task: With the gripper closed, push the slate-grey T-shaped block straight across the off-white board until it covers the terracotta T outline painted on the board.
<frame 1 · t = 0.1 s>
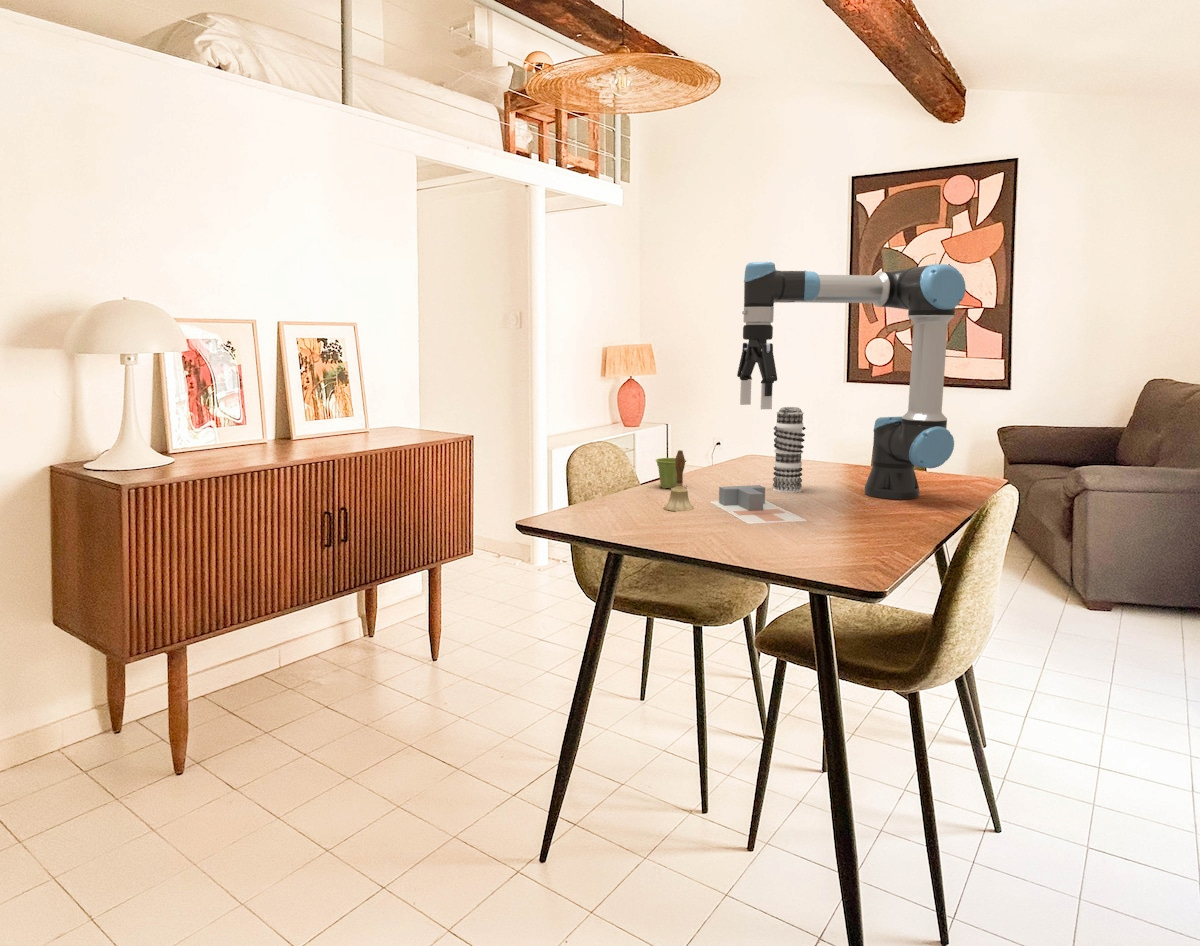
hand: (755, 407, 217), 28 cm above the table, fingers open, 13 cm apart
decorative candle: (787, 490, 252), on the table
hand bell: (678, 509, 226), on the table
plant pot: (670, 488, 256), on the table
T block: (747, 506, 228), resting on target board
target board: (756, 511, 222), on the table
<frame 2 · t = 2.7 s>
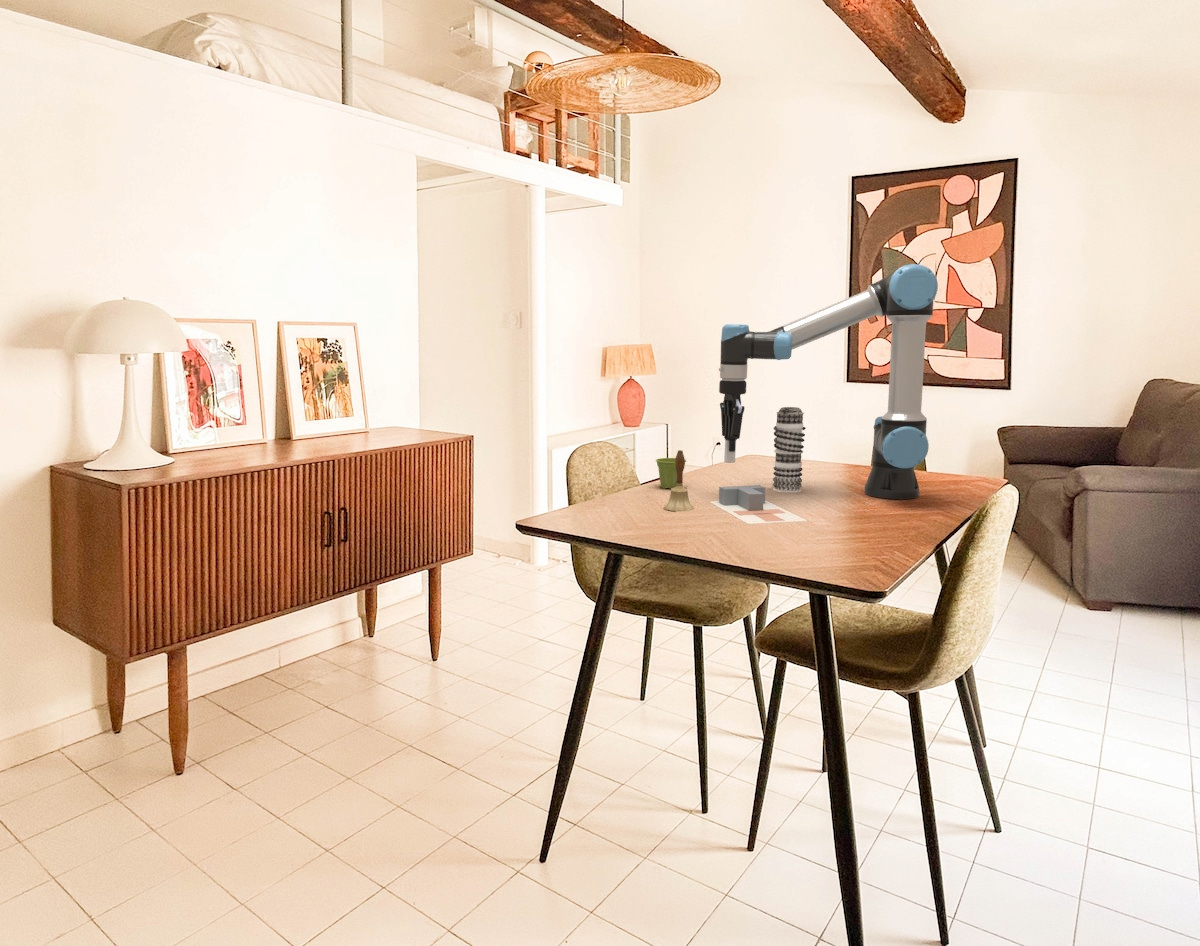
hand: (729, 462, 239), 10 cm above the table, fingers closed
nothing on the table moved.
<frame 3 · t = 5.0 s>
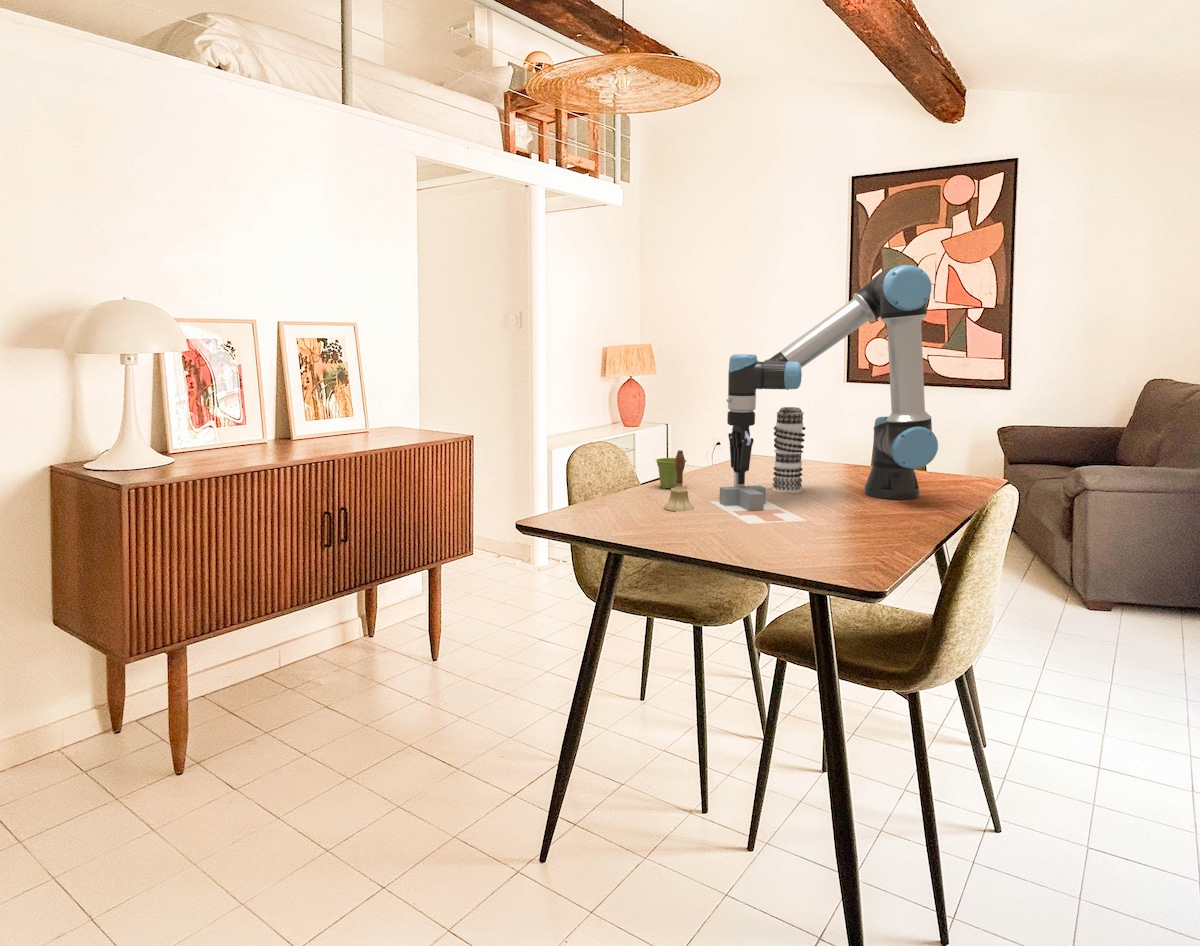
hand: (739, 494, 234), 2 cm above the table, fingers closed
T block: (747, 506, 227), resting on target board, touching gripper
everything else where it was.
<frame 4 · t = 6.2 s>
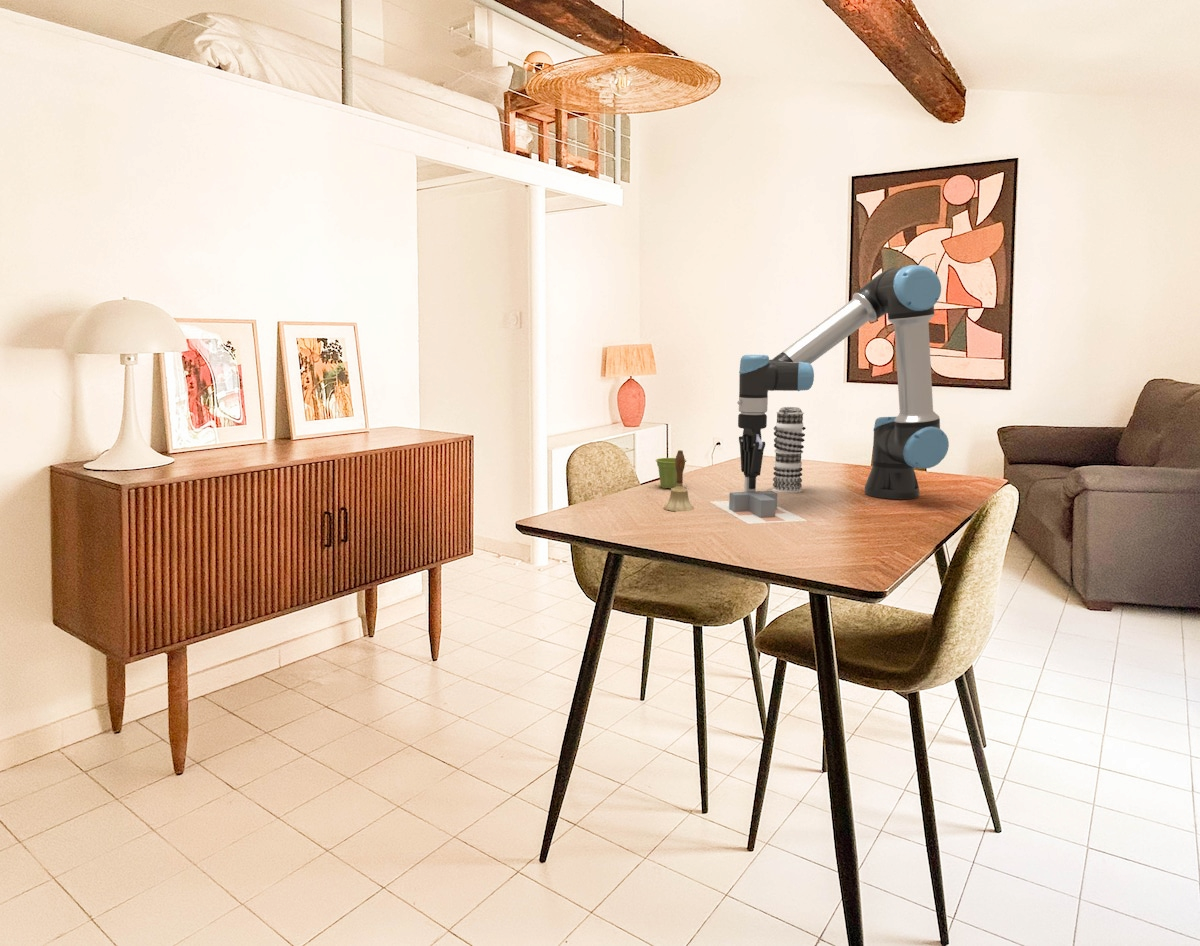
hand: (749, 499, 226), 2 cm above the table, fingers closed
T block: (758, 512, 220), resting on target board, touching gripper
everything else where it was.
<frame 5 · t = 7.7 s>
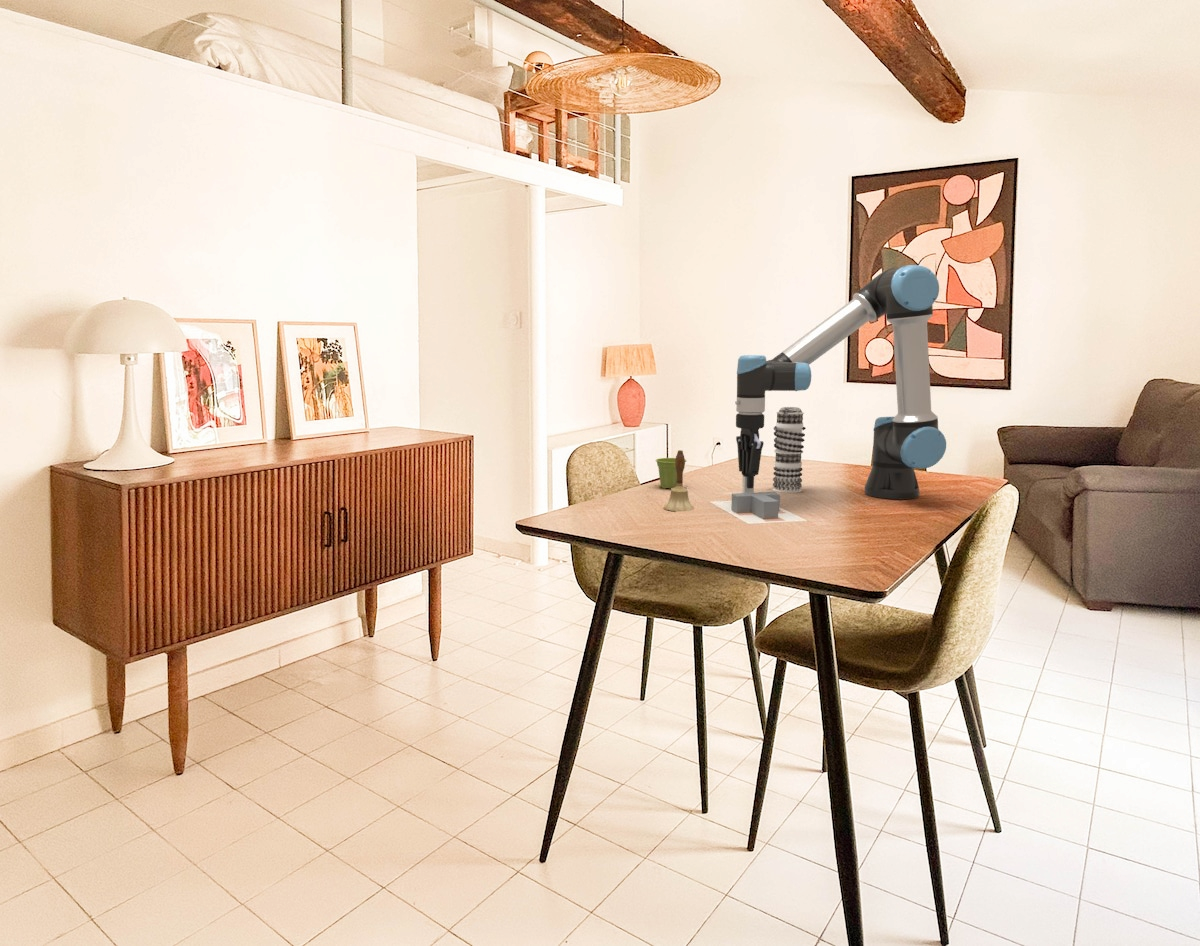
hand: (747, 499, 228), 2 cm above the table, fingers closed
T block: (761, 513, 218), resting on target board
everything else where it was.
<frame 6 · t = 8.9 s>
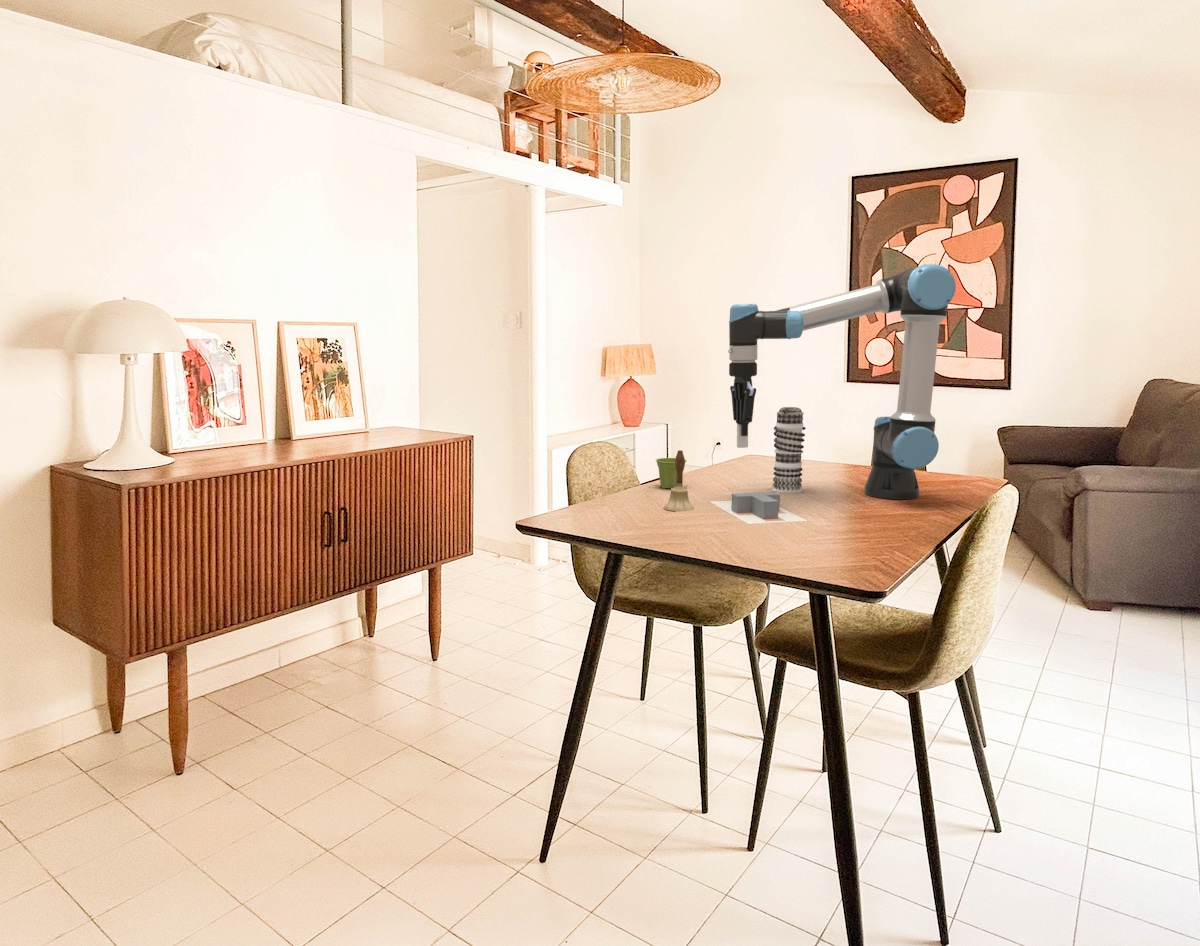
hand: (742, 447, 231), 16 cm above the table, fingers closed
nothing on the table moved.
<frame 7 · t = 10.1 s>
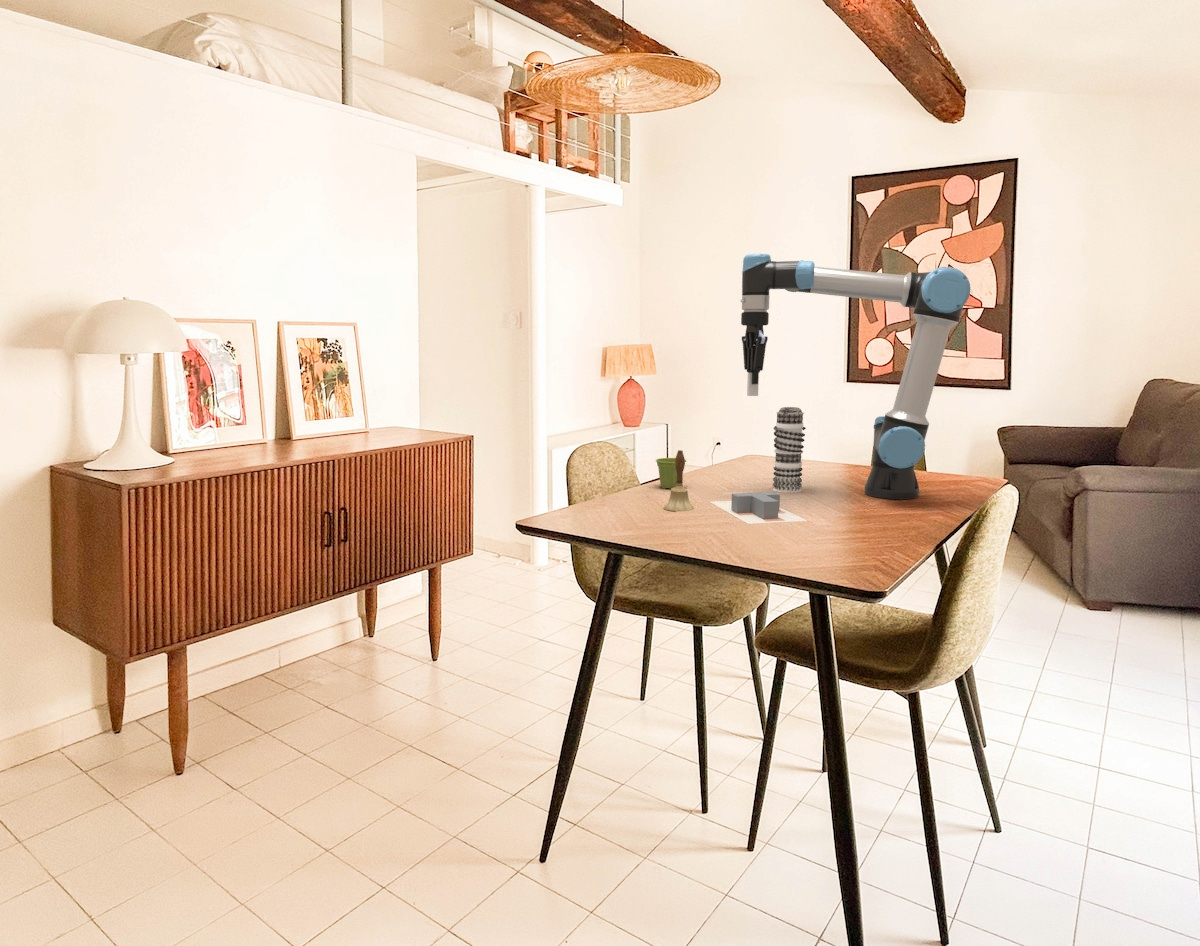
hand: (752, 395, 237), 29 cm above the table, fingers closed
nothing on the table moved.
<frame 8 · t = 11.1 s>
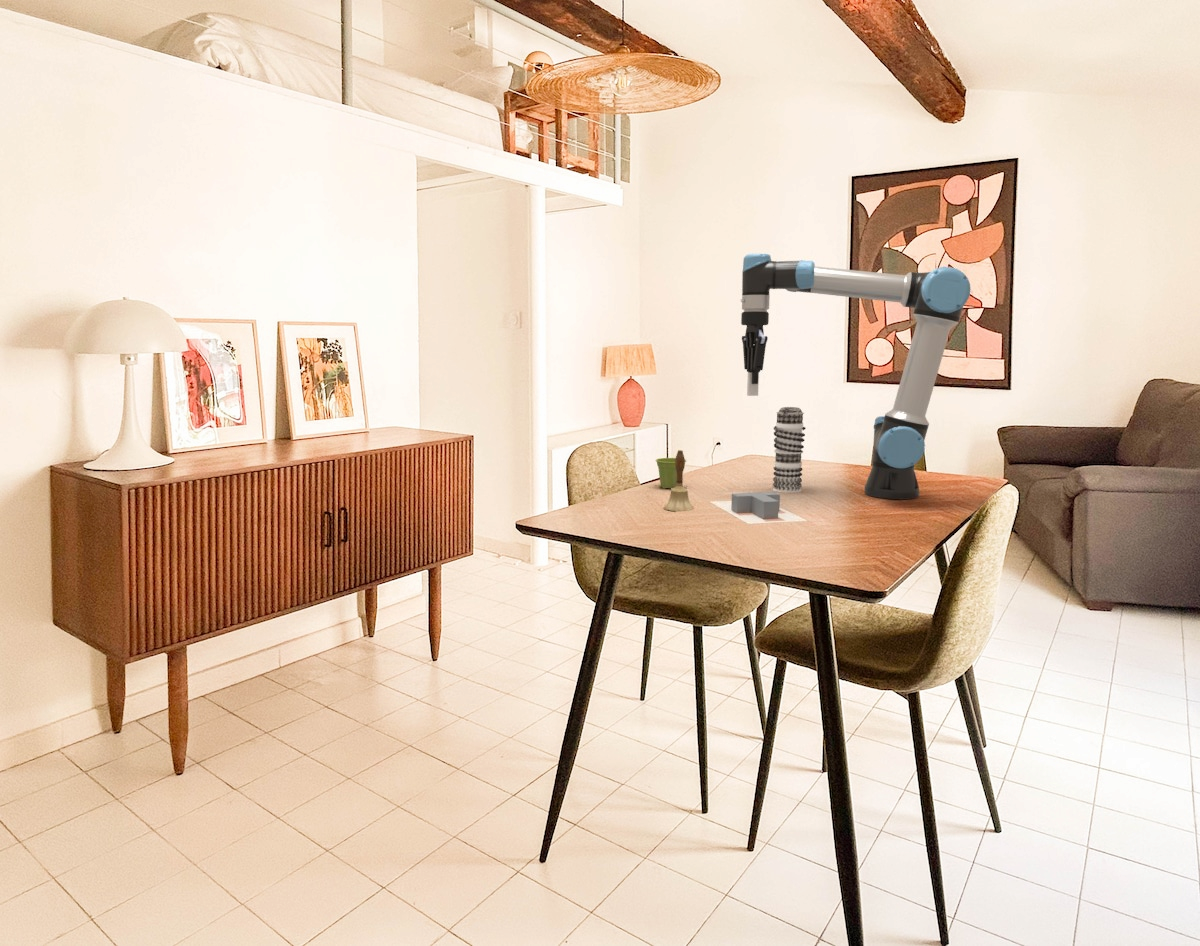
hand: (752, 395, 237), 29 cm above the table, fingers closed
nothing on the table moved.
at the end: T block 1.9 cm from the target spot on the target board, point 0.2 cm above the target board's base; T block tilted 0° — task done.
